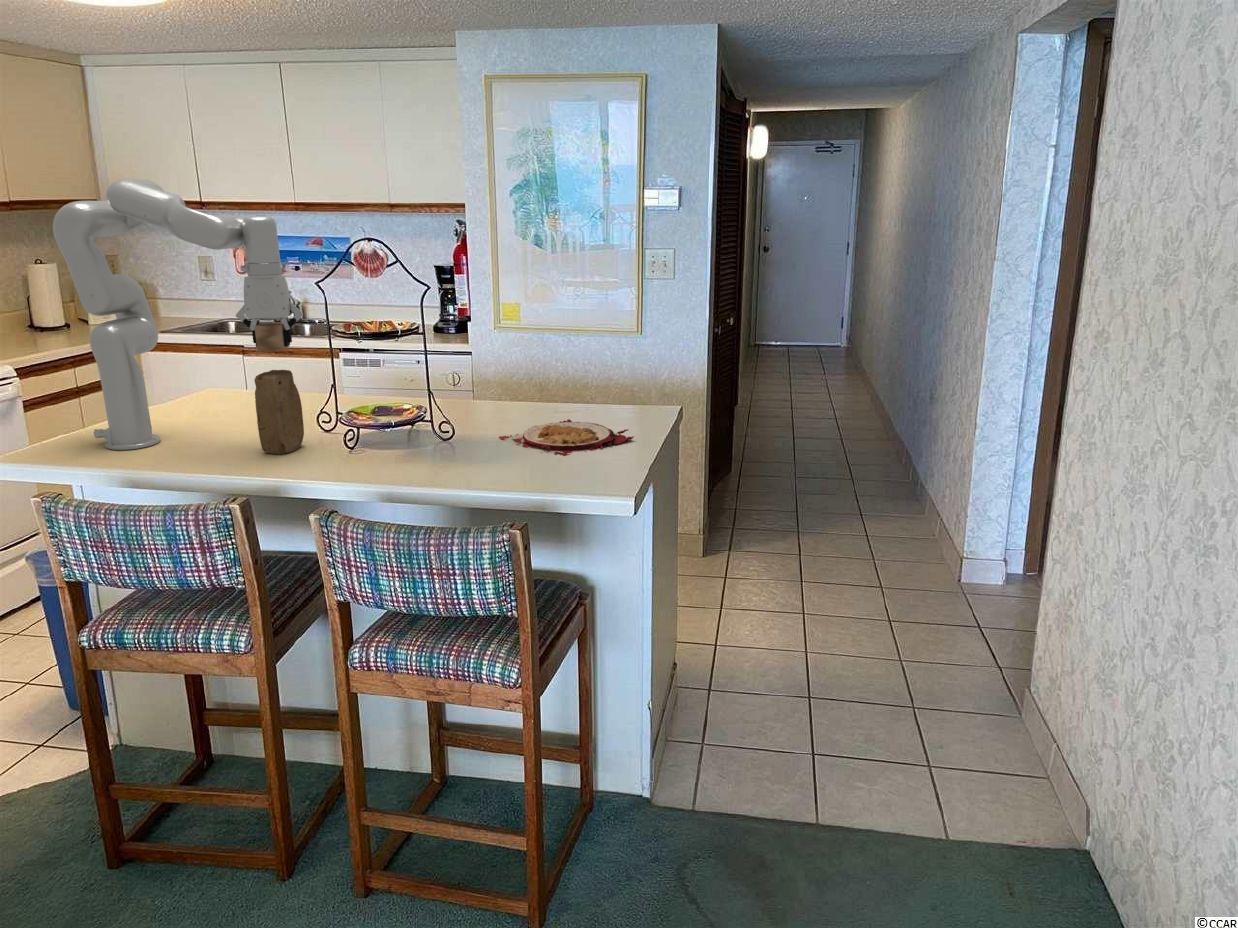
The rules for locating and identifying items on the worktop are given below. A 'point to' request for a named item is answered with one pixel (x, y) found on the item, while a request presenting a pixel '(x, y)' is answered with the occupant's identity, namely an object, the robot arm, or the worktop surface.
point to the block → (278, 412)
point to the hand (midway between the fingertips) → (273, 345)
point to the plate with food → (569, 437)
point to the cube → (270, 337)
